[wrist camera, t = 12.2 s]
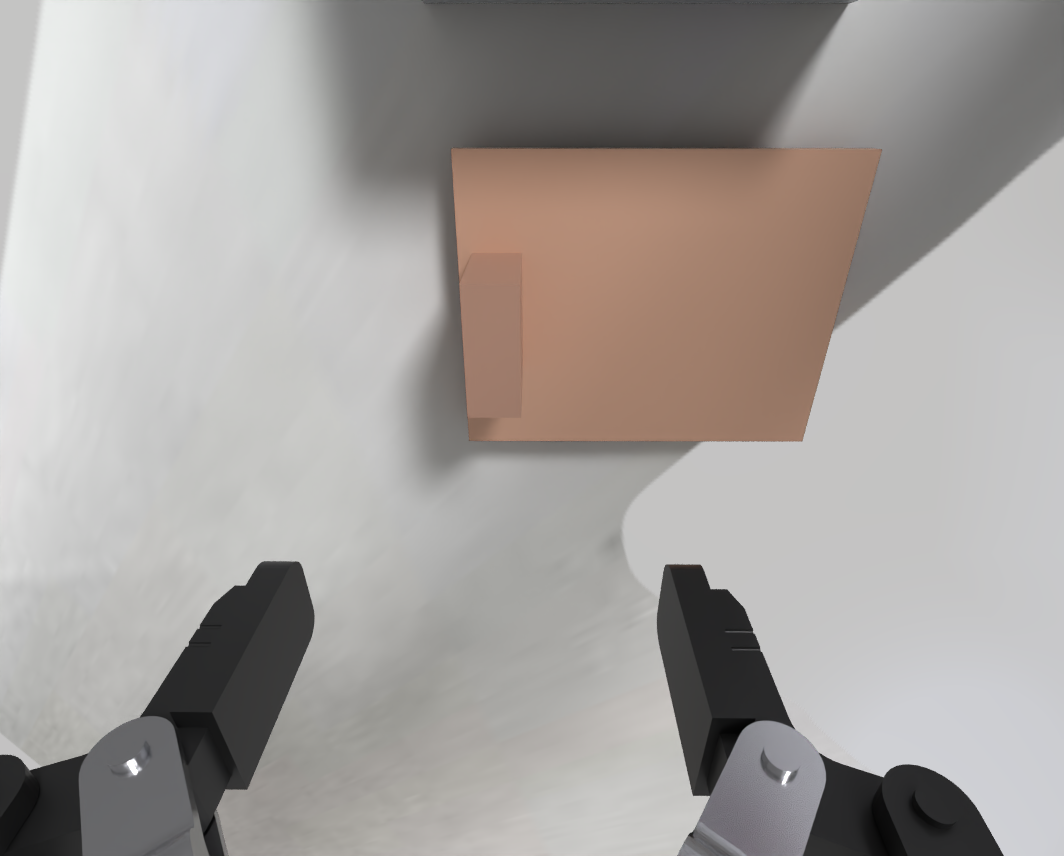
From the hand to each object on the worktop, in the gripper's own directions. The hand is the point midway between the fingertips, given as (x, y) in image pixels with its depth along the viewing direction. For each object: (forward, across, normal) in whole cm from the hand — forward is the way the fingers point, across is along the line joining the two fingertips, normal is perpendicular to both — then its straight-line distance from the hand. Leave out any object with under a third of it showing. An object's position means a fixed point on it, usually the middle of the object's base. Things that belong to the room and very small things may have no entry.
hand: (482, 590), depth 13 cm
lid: (+21, -7, 0) cm, 22 cm away
